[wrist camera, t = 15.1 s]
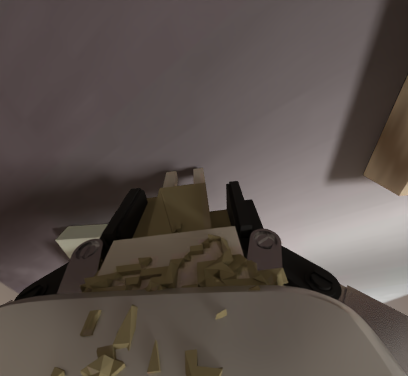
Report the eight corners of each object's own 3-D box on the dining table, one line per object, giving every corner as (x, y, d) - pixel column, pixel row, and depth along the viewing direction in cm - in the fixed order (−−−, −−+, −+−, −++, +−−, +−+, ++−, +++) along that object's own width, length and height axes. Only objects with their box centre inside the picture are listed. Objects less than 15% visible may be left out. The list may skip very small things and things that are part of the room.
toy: (159, 206, 17) (74, 563, 5) (138, 140, 13) (-596, 1040, 1) (232, 197, 17) (349, 528, 5) (231, 129, 13) (822, 857, 1)
